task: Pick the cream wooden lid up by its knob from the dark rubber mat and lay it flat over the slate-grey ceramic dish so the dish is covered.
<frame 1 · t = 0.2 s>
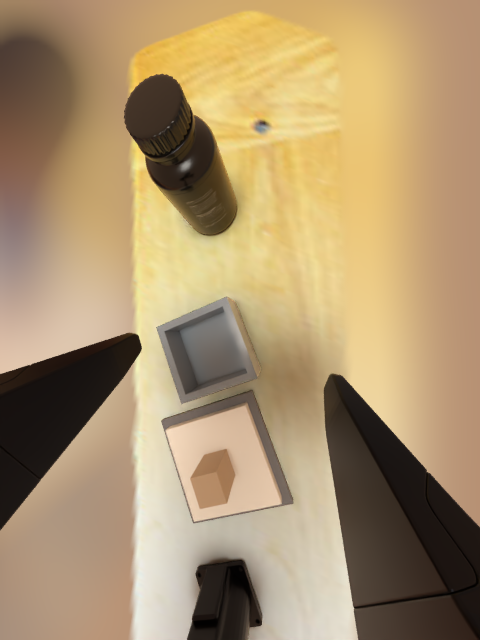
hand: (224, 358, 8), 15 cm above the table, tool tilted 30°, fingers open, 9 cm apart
lid: (221, 458, 23), resting on mat
dish: (216, 347, 24), on the table
supplement bottle: (213, 212, 25), on the table
mat: (223, 455, 23), on the table
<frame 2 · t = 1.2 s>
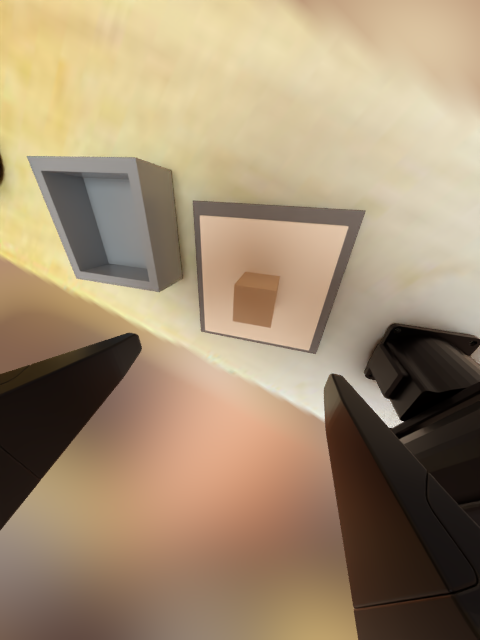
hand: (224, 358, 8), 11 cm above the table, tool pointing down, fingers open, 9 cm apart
lid: (261, 286, 17), resting on mat
dish: (135, 227, 18), on the table
mat: (262, 285, 18), on the table
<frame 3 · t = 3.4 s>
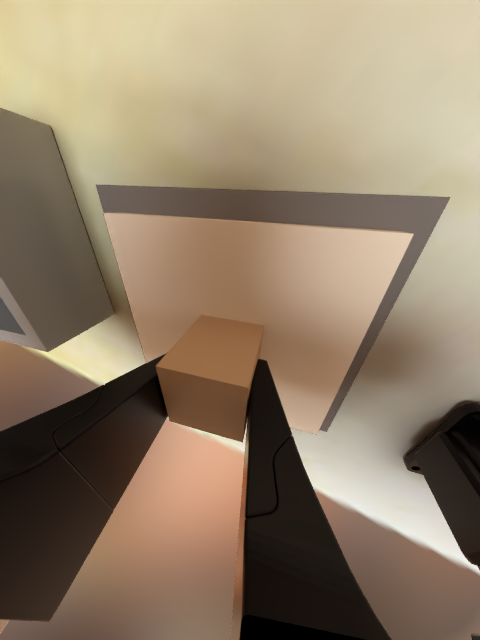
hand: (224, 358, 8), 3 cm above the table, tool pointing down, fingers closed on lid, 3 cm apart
lid: (236, 334, 10), resting on mat, touching gripper
dish: (26, 235, 11), on the table
mat: (238, 329, 11), on the table
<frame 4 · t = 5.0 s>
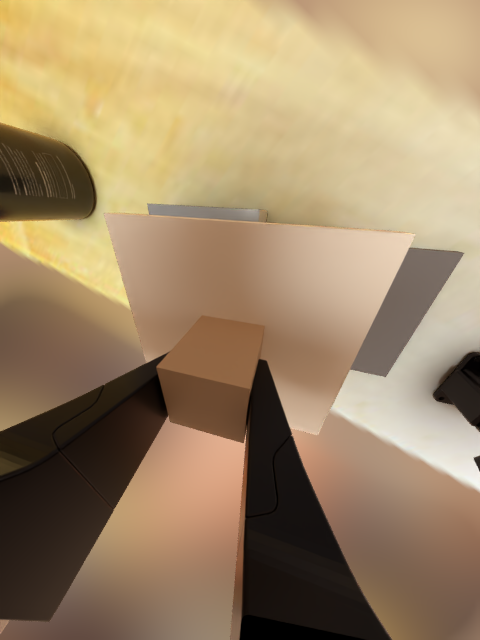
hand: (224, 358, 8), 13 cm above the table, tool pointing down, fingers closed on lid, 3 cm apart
lid: (236, 334, 10), point 11 cm above the table, touching gripper
dish: (219, 258, 19), on the table
supplement bottle: (71, 183, 20), on the table
mat: (340, 312, 19), on the table
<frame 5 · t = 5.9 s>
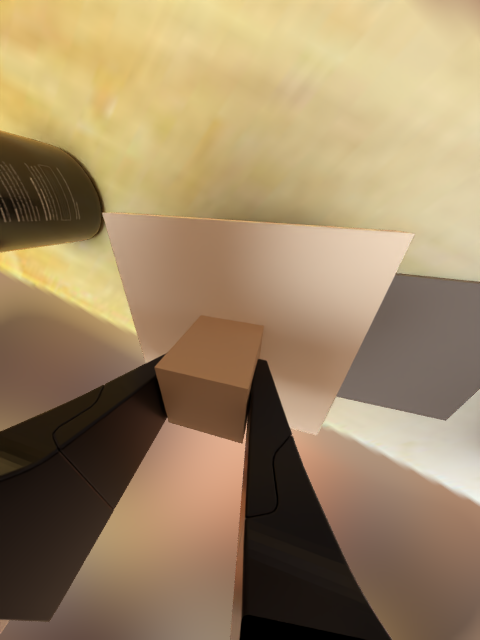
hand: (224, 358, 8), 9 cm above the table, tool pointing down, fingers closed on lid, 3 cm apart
lid: (235, 334, 10), point 7 cm above the table, touching gripper
supplement bottle: (72, 198, 16), on the table
mat: (400, 352, 16), on the table
when the fingers open (7 cm above the table, at t = 6.8 s): lid drops 2 cm, resting on dish.
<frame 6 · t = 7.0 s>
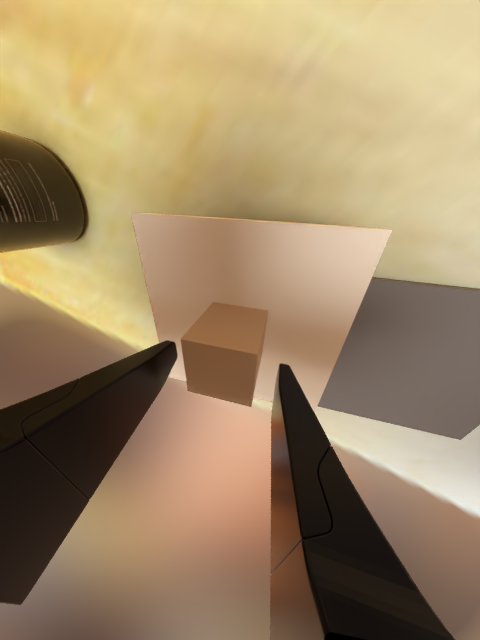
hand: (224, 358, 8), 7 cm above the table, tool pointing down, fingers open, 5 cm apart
lid: (242, 321, 11), point 4 cm above the table, touching dish
supplement bottle: (53, 197, 15), on the table
mat: (412, 366, 14), on the table
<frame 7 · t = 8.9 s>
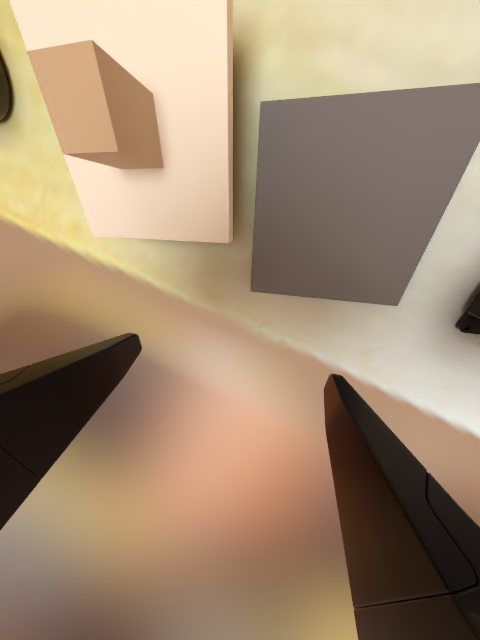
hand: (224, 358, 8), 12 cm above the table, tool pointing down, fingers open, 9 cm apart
lid: (146, 140, 11), point 4 cm above the table, touching dish
mat: (337, 219, 14), on the table
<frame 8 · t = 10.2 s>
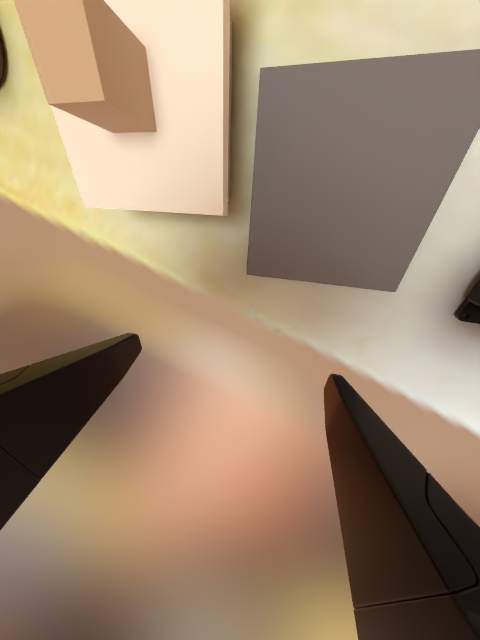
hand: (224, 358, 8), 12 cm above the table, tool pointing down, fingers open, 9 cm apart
lid: (140, 103, 11), point 4 cm above the table, touching dish
dish: (175, 129, 14), on the table
mat: (337, 198, 14), on the table
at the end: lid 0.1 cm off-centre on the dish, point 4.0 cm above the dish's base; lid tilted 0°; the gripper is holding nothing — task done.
